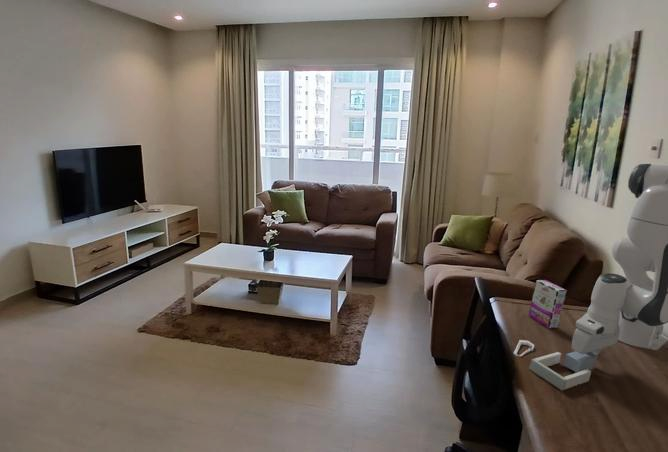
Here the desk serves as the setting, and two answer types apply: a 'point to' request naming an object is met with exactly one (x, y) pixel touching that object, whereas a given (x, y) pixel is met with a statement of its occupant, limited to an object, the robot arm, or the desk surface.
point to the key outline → (523, 344)
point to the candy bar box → (547, 303)
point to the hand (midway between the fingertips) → (591, 359)
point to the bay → (554, 378)
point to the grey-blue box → (579, 361)
